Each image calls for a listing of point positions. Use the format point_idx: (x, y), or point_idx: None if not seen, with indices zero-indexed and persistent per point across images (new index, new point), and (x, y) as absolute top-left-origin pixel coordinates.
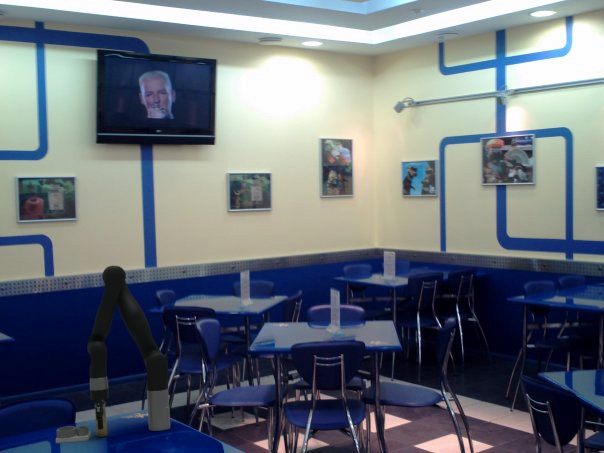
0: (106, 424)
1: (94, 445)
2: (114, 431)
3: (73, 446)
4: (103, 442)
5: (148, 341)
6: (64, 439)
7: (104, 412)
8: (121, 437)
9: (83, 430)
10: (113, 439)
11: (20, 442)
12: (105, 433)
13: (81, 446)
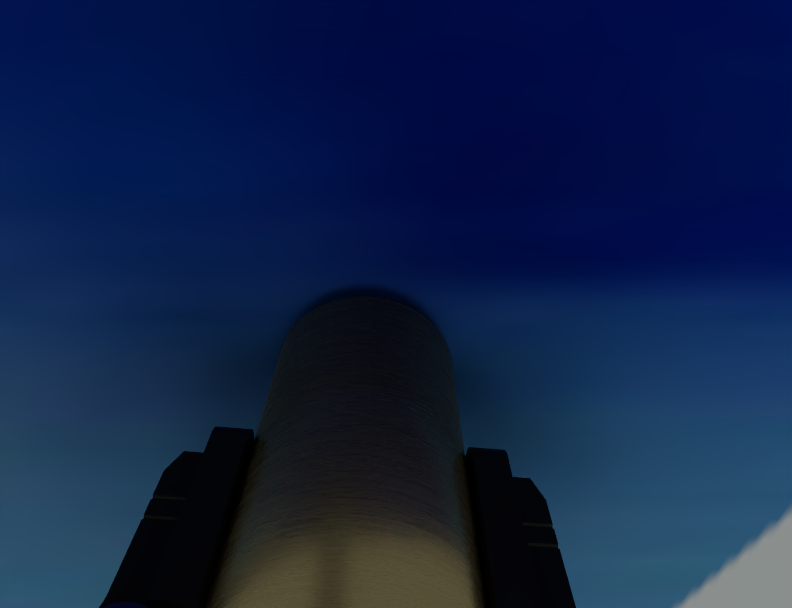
0: (383, 432)
1: (779, 435)
2: (49, 159)
3: (642, 602)
4: (711, 334)
5: None
6: None
7: None
8: (582, 20)
9: None
10: (634, 184)
11: None
12: (431, 343)
13: (705, 547)
